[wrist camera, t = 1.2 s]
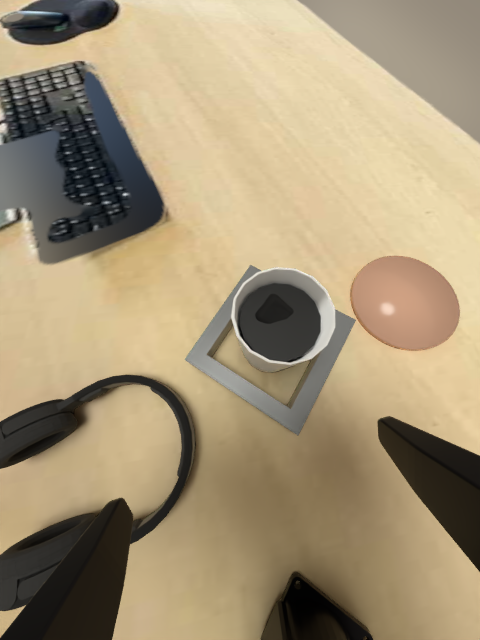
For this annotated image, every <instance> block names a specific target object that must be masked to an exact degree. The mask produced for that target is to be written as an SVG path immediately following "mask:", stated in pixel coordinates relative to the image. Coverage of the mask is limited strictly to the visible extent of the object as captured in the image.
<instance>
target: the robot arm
mask: <svg viewBox="0 0 480 640" xmlns="http://www.w3.org/2000/svg"><path fill="white" fill-rule="evenodd" d="M378 437H379V440H380V442H381V444H382V446H383V447H384V449H385V450H386V452H387V453H388V454H389V456H390V457H391V459H392V460H393V462H394V463H395V465H396V466H397V467H398V469H399V470H400V472H401V473H402V475H403V476H404V478H405V479H406V480H407V482H408V483H409V485H410V486H411V487H412V489H413V490H414V492H415V493H416V494H417V495H418V497H419V498H420V499H421V501H422V502H423V503H424V504H425V505H426V507H427V508H428V509H429V510H430V512H431V513H432V514H433V515H434V516H435V518H436V519H437V520H438V521H439V523H440V524H441V525H442V526H443V527H444V529H445V530H446V531H447V532H448V534H449V535H450V536H451V537H452V538H453V540H454V541H455V542H456V543H457V545H458V546H459V547H460V548H461V549H462V551H463V552H464V553H465V554H466V556H467V557H468V558H469V559H470V560H471V562H472V563H473V564H474V565H475V567H476V568H477V569H478V570H479V571H480V456H479V455H477V454H475V453H472V452H470V451H468V450H466V449H463V448H461V447H459V446H457V445H454V444H452V443H450V442H448V441H445V440H443V439H441V438H438V437H436V436H434V435H432V434H429V433H427V432H425V431H423V430H420V429H418V428H416V427H413V426H411V425H409V424H407V423H404V422H402V421H400V420H398V419H395V418H393V417H390V416H388V417H384V418H381V419H379V420H378ZM132 526H133V514H132V512H131V510H130V508H129V506H128V505H127V503H126V501H125V500H124V499H123V498H118V499H115V500H112V501H110V502H109V503H107V505H106V506H105V507H104V508H103V510H102V511H101V512H100V513H99V515H98V516H97V517H96V518H95V520H94V521H93V522H92V523H91V525H90V526H89V527H88V528H87V530H86V531H85V532H84V533H83V535H82V536H81V537H80V538H79V540H78V541H77V542H76V543H75V545H74V546H73V547H72V548H71V550H70V551H69V552H68V554H67V555H66V556H65V557H64V559H63V560H62V561H61V562H60V564H59V565H58V566H57V567H56V569H55V570H54V571H53V572H52V574H51V575H50V576H49V577H48V579H47V580H46V581H45V582H44V584H43V585H42V586H41V587H40V589H39V590H38V591H37V592H36V594H35V595H34V596H33V598H32V599H31V600H30V601H29V603H28V604H27V605H26V606H25V608H24V609H23V610H22V611H21V613H20V614H19V615H18V616H17V618H16V619H15V620H14V621H13V623H12V624H11V625H10V626H9V628H8V629H7V630H6V631H5V633H4V634H3V635H2V636H1V638H0V640H112V637H113V632H114V628H115V623H116V619H117V614H118V610H119V605H120V601H121V596H122V591H123V586H124V580H125V574H126V567H127V560H128V554H129V547H130V540H131V533H132ZM296 581H300V584H299V585H295V582H296ZM365 636H366V637H367V639H366V640H373V638H372V636H371V634H370V632H369V630H368V629H367V628H366V627H365V626H364V625H362V624H361V623H360V622H359V621H357V620H356V619H355V618H354V617H352V616H351V615H350V614H349V613H347V612H346V611H345V610H344V609H343V608H341V607H340V606H339V605H338V604H336V603H335V602H334V601H333V600H331V599H330V598H329V597H328V596H326V595H325V594H324V593H323V592H321V591H320V590H319V589H318V588H316V587H315V586H314V585H313V584H312V583H310V582H309V581H308V580H307V579H305V578H304V577H303V576H302V575H300V574H299V573H294V574H292V576H291V578H290V580H289V582H288V585H287V587H286V589H285V592H284V594H283V596H282V599H281V600H279V601H277V602H276V605H275V607H274V609H273V611H272V614H271V616H270V618H269V621H268V623H267V625H266V627H265V630H264V632H263V634H262V637H261V640H363V638H364V637H365Z"/></svg>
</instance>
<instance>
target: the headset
mask: <svg viewBox="0 0 480 640" xmlns="http://www.w3.org/2000/svg"><path fill="white" fill-rule="evenodd" d="M129 384H141V385H146V386H149V387H151V390H152V391H153V392H154V393H156V394H158V395H159V396H160V397H161V398H163V399H164V400H165V401H166V402H167V403H168V405H169V406H170V408H171V409H172V410H173V412H174V414H175V416H176V419H177V421H178V424H179V428H180V432H181V442H182V451H181V460H180V465H179V468H178V477H179V478H178V481H177V483H176V485H175V487H174V489H173V491H172V492H171V494H170V495H169V497H168V498H167V499H166V500H165V502H164V503H163V504H162V505H161V506H160V507H159V508H158V509H157V510H156V511H154V512H153V513H151V514H150V515H149V516H147V517H146V518H145V519H143V520H141V519H138V520H135V521H133V526H132V533H131V540H130V544H132V543H134V542H136V541H138V540H139V539H141V538H142V537H144V536H145V535H146V534H148V533H149V532H151V531H152V530H153V529H154V528H155V527H156V526H157V525H158V524H159V523H160V522H161V521H162V520H163V519H164V518H165V517H166V516H167V514H168V513H169V512H170V510H171V509H172V507H173V506H174V504H175V503H176V501H177V500H178V498H179V496H180V494H181V492H182V490H183V488H184V486H185V483H186V481H187V479H188V477H189V475H190V471H191V468H192V464H193V461H194V453H195V431H194V426H193V422H192V418H191V415H190V413H189V411H188V409H187V407H186V405H185V404H184V402H183V401H182V400H181V398H180V397H179V396H178V394H176V393H175V392H174V391H173V390H172V389H171V388H169V387H168V386H166V385H164V384H162V383H160V382H158V381H156V380H153V379H150V378H146V377H143V376H137V375H120V376H113V377H109V378H106V379H103V380H99V381H97V382H95V383H93V384H91V385H89V386H87V387H85V388H84V389H82V390H80V391H79V392H77V393H75V394H74V395H72V396H71V397H69V398H67V399H66V400H62V399H56V400H51V401H47V402H43V403H40V404H37V405H34V406H32V407H29V408H27V409H24V410H22V411H20V412H18V413H16V414H14V415H12V416H10V417H8V418H6V419H4V420H3V421H1V422H0V469H1V468H6V467H9V466H12V465H14V464H17V463H19V462H21V461H24V460H26V459H28V458H30V457H32V456H34V455H36V454H38V453H40V452H42V451H44V450H46V449H48V448H49V447H51V446H53V445H55V444H56V443H58V442H59V441H61V440H62V439H64V438H65V437H67V436H68V435H69V434H70V433H72V432H73V431H74V430H75V429H76V427H77V419H76V418H75V417H74V416H73V414H74V411H73V410H74V409H76V408H77V407H79V406H80V405H82V404H83V403H85V402H89V401H92V400H93V399H95V398H97V397H98V396H100V395H102V394H104V393H106V392H108V390H109V389H111V388H115V387H118V386H121V385H129ZM95 518H96V517H95V515H94V514H85V515H80V516H77V517H73V518H70V519H67V520H64V521H62V522H59V523H57V524H54V525H52V526H50V527H47V528H45V529H43V530H41V531H39V532H36V533H34V534H32V535H30V536H28V537H27V538H25V539H23V540H21V541H19V542H18V543H16V544H14V545H13V546H11V547H10V548H9V549H7V550H6V551H5V552H3V553H2V554H1V555H0V611H8V610H13V609H16V608H19V607H22V606H25V605H27V604H28V603H29V601H30V600H31V599H32V598H33V596H34V595H35V594H36V592H37V591H38V590H39V589H40V587H41V586H42V585H43V584H44V582H45V581H46V580H47V579H48V577H49V576H50V575H51V574H52V572H53V571H54V570H55V569H56V567H57V566H58V565H59V564H60V562H61V561H62V560H63V559H64V557H65V556H66V555H67V554H68V552H69V551H70V550H71V548H72V547H73V546H74V545H75V543H76V542H77V541H78V540H79V538H80V537H81V536H82V535H83V533H84V532H85V531H86V530H87V528H88V527H89V526H90V525H91V523H92V522H93V521H94V520H95Z"/></svg>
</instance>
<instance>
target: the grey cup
mask: <svg viewBox="0 0 480 640" xmlns="http://www.w3.org/2000/svg"><path fill="white" fill-rule="evenodd" d="M231 319H232V322H233V326H234V329H235V333H236V336H237V338H238V341H239V343H240V346H241V348H242V351H243V353H244V356H245V358H246V359H247V361H248V362H249V363H250V364H251V366H253V367H255V368H256V369H258V370H260V371H263V372H271V373H273V372H276V371H280V370H283V369H285V368H288V367H291V366H294V365H296V364H299V363H302V362H304V361H307V360H310V359H312V358H313V357H314V356H315V355H317V354H318V353H319V352H320V351H321V350H322V349H324V348H325V347H326V346H327V345H328V342H329V340H330V338H331V336H332V334H333V331H334V329H335V307H334V305H333V302H332V300H331V298H330V296H329V294H328V291H327V290H326V289H325V288H324V287H323V286H322V285H321V284H320V283H319V282H318V281H317V280H316V279H315V278H314V277H313V276H310V275H308V274H306V273H304V272H301V271H299V270H297V269H293V268H281V267H275V268H271V269H267V270H263V271H260V272H257V273H256V274H254V275H253V276H252V277H250V278H249V279H248V280H246V281H245V282H243V284H242V285H241V287H240V289H239V290H238V292H237V294H236V295H235V297H234V299H233V306H232V313H231Z"/></svg>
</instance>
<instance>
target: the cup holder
mask: <svg viewBox="0 0 480 640" xmlns="http://www.w3.org/2000/svg"><path fill="white" fill-rule="evenodd" d="M260 271H261V270H259V269H257V268H255V267H253V266H252V265H250V267H249V268H248V269H247V271H246V272H245V274H244V275H243V277H242V278H241V279H240V281H239V282H238V284H237V285H236V287H235V288H234V289H233V291H232V292H231V294H230V295H229V297H228V298H227V299H226V301H225V302H224V304H223V305H222V307H221V308H220V310H219V311H218V312H217V314H216V315H215V317H214V318H213V320H212V321H211V322H210V324H209V325H208V327H207V328H206V330H205V331H204V332H203V334H202V335H201V337H200V338H199V340H198V341H197V342H196V344H195V345H194V347H193V348H192V350H191V351H190V352H189V354H188V355H187V357H186V358H185V360H186V361H187V362H189V363H190V364H192V365H193V366H195V367H196V368H198V369H199V370H201V371H202V372H204V373H205V374H207V375H208V376H210V377H211V378H213V379H214V380H216V381H217V382H219V383H220V384H222V385H223V386H225V387H226V388H228V389H229V390H231V391H232V392H234V393H235V394H237V395H238V396H240V397H241V398H243V399H244V400H246V401H247V402H249V403H250V404H251V405H253V406H254V407H256V408H257V409H259V410H260V411H262V412H263V413H265V414H266V415H268V416H269V417H271V418H272V419H274V420H275V421H277V422H278V423H280V424H281V425H283V426H284V427H286V428H287V429H289V430H290V431H292V432H293V433H295V434H296V435H299V433H300V431H301V429H302V427H303V425H304V423H305V421H306V419H307V417H308V415H309V413H310V411H311V409H312V407H313V405H314V403H315V401H316V399H317V397H318V395H319V393H320V391H321V389H322V387H323V385H324V383H325V381H326V379H327V377H328V375H329V373H330V371H331V369H332V367H333V365H334V363H335V361H336V359H337V357H338V355H339V353H340V351H341V349H342V347H343V345H344V343H345V341H346V339H347V337H348V335H349V333H350V331H351V329H352V327H353V325H354V323H355V321H356V320H355V319H353V318H351V317H349V316H347V315H345V314H343V313H341V312H339V311H338V310H336V309H335V329H334V331H333V334H332V336H331V338H330V340H329V342H328V345H327V346H326V347H325V348H324V349H322V350H321V351H320V352H319V353H318V354H317V355H315V356H314V357H313V358H312V360H311V362H310V364H309V365H308V367H307V369H306V371H305V373H304V375H303V377H302V379H301V381H300V382H299V384H298V386H297V388H296V390H295V392H294V394H293V396H292V397H291V399H290V401H289V403H288V405H287V406H285V405H284V404H282V403H280V402H279V401H277V400H276V399H274V398H273V397H271V396H270V395H268V394H267V393H265V392H263V391H262V390H260V389H259V388H257V387H256V386H254V385H253V384H251V383H250V382H248V381H246V380H245V379H243V378H242V377H240V376H239V375H237V374H236V373H234V372H233V371H231V370H229V369H228V368H226V367H225V366H223V365H222V364H220V363H219V362H217V361H216V360H214V359H213V358H211V357H212V356H213V354H214V353H215V351H216V350H217V348H218V347H219V345H220V344H221V342H222V341H223V339H224V338H225V336H226V335H227V333H228V332H229V330H230V329H231V327H232V326H233V322H232V319H231V313H232V306H233V299H234V297H235V295H236V294H237V292H238V290H239V289H240V287H241V285H242V284H243V282H245V281H246V280H248V279H249V278H250V277H252V276H253V275H254V274H256V273H257V272H260Z"/></svg>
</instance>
